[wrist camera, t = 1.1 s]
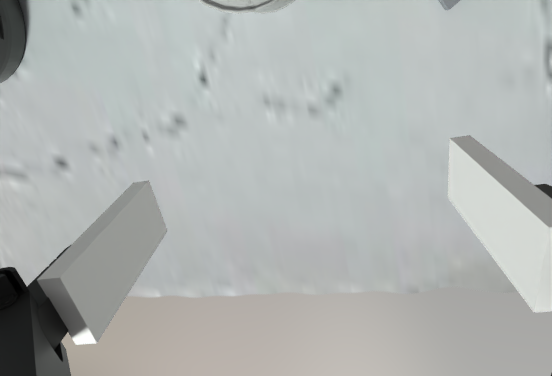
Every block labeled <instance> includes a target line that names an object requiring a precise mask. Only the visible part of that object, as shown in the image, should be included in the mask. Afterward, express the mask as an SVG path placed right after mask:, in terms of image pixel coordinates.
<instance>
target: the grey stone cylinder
mask: <svg viewBox="0 0 552 376" xmlns="http://www.w3.org/2000/svg"><path fill="white" fill-rule="evenodd" d="M198 1H200V2H201V3H203V4H204V5H206V6H209V7H211V8H214V9H216V10H219V11H222V12H230V13H238V14H239V13H247V12H254V13H270V12H275V11H278V10H280V9H283V8H285V7H286V6H288V5H289V4H291V3H292V2H293V1H295V0H198Z"/></svg>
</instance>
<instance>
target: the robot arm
mask: <svg viewBox="0 0 552 376" xmlns="http://www.w3.org/2000/svg"><path fill="white" fill-rule="evenodd" d="M24 46H25V27H24V20H23V15H22V11H21V8H20V5H19V2H18V0H0V83H2V82H3V81H5V80H6V79H8V78H9V77H10V76H11V75H12V74H13V73H14V72H15V70H16V69H17V67H18V65H19V63H20V61H21V59H22V56H23V52H24ZM448 199H449V200H450V201H451V203H452V204H453V205H454V207H455V208H456V209H457V211H458V212H459V213H460V215H461V216H462V217H463V219H464V220H465V221H466V223H467V224H468V225H469V227H470V228H471V229H472V231H473V232H474V233H475V235H476V236H477V237H478V238H479V240H480V241H481V242H482V244H483V245H484V246H485V248H486V249H487V250H488V252H489V253H490V254H491V256H492V257H493V258H494V260H495V261H496V262H497V264H498V265H499V266H500V268H501V269H502V270H503V272H504V273H505V274H506V276H507V277H508V278H509V280H510V281H511V282H512V284H513V285H514V286H515V288H516V289H517V290H518V292H519V293H520V294H521V296H522V297H523V298H524V300H525V301H526V302H527V304H528V305H529V306H530V308H531V309H532V310H533V312H534V313H535V312H548V311H552V186H549V185H547V184H540V185H533V184H532V183H531V182H529V181H528V180H527V179H526V178H524V177H523V176H522V175H520V174H519V173H518V172H517V171H515V170H514V169H513V168H511V167H510V166H509V165H507V164H506V163H505V162H504V161H502V160H501V159H500V158H498V157H497V156H496V155H495V154H493V153H492V152H491V151H489V150H488V149H487V148H485V147H484V146H483V145H482V144H480V143H479V142H478V141H476V140H475V139H474V138H472V137H471V136H470V135H469V136H462V137H455V138H450V144H449V177H448ZM166 232H167V228H166V225H165V223H164V220H163V217H162V215H161V212H160V209H159V207H158V204H157V201H156V198H155V196H154V193H153V190H152V188H151V185H150V182H149V181H143V182H136V183H133V184H132V185H131V186H130V187H129V188H128V189H127V190H126V191H125V192H124V193H123V194H122V195H121V196H120V197H119V198H118V199H117V200H116V201H115V202H114V203H113V204H112V205H111V206H110V207H109V208H108V209H107V210H106V211H105V212H104V213H103V214H102V215H101V216H100V217H99V218H98V219H97V220H96V221H95V222H94V223H93V224H92V225H91V226H90V227H89V228H88V229H87V230H86V231H85V232H84V233H83V234H82V235H81V236H80V237H79V238H78V239H77V240H76V241H75V242H74V243H73V244H72V245H70V246H69V247H67V248H66V249H65V250H64V251H63V252H62V253H61V254H60V255H59V256H58V257H57V259H55V260H54V261H53V262H52V263H51V264H50V265H49V267H47V268H46V269H45V270H44V271H43V272H42V273H41V274H40V275H39V276H38V277H37V278H36V279H35V280H33V281H32V282H31V283H30V284H29V285H28V286H26V285H25V283H24V282H23V280H22V278H21V277H20V275H19V274H18V272H17V270H16V269H15V268H13V267H7V268H1V269H0V376H71V374H70V368H69V363H68V358H67V353H66V349H65V347H64V346H63V344H62V343H61V340H62V339H63V337H64V336H65V335H66V334H67V332H69V334H70V336H71V337H72V339H73V341H74V342H75V344H76V345H78V344H93V343H97V342H98V341H99V339H100V337H101V336H102V334H103V333H104V331H105V329H106V328H107V326H108V325H109V323H110V321H111V320H112V318H113V317H114V315H115V313H116V312H117V310H118V309H119V307H120V306H121V304H122V302H123V301H124V299H125V298H126V296H127V294H128V293H129V291H130V290H131V288H132V286H133V285H134V283H135V282H136V280H137V278H138V277H139V275H140V274H141V272H142V271H143V269H144V267H145V266H146V264H147V263H148V261H149V259H150V258H151V256H152V255H153V253H154V251H155V250H156V248H157V247H158V245H159V243H160V242H161V240H162V239H163V237H164V235H165V234H166ZM551 376H552V374H551Z"/></svg>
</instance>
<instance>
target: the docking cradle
mask: <svg viewBox="0 0 552 376" xmlns="http://www.w3.org/2000/svg"><path fill="white" fill-rule="evenodd" d="M459 1H460V0H439V2H440V3H441V4H442V6H443V7H444V9H445V10H449V9H451V8H452V7H453V6H454V5H455V4H457V3H458V2H459Z"/></svg>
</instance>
